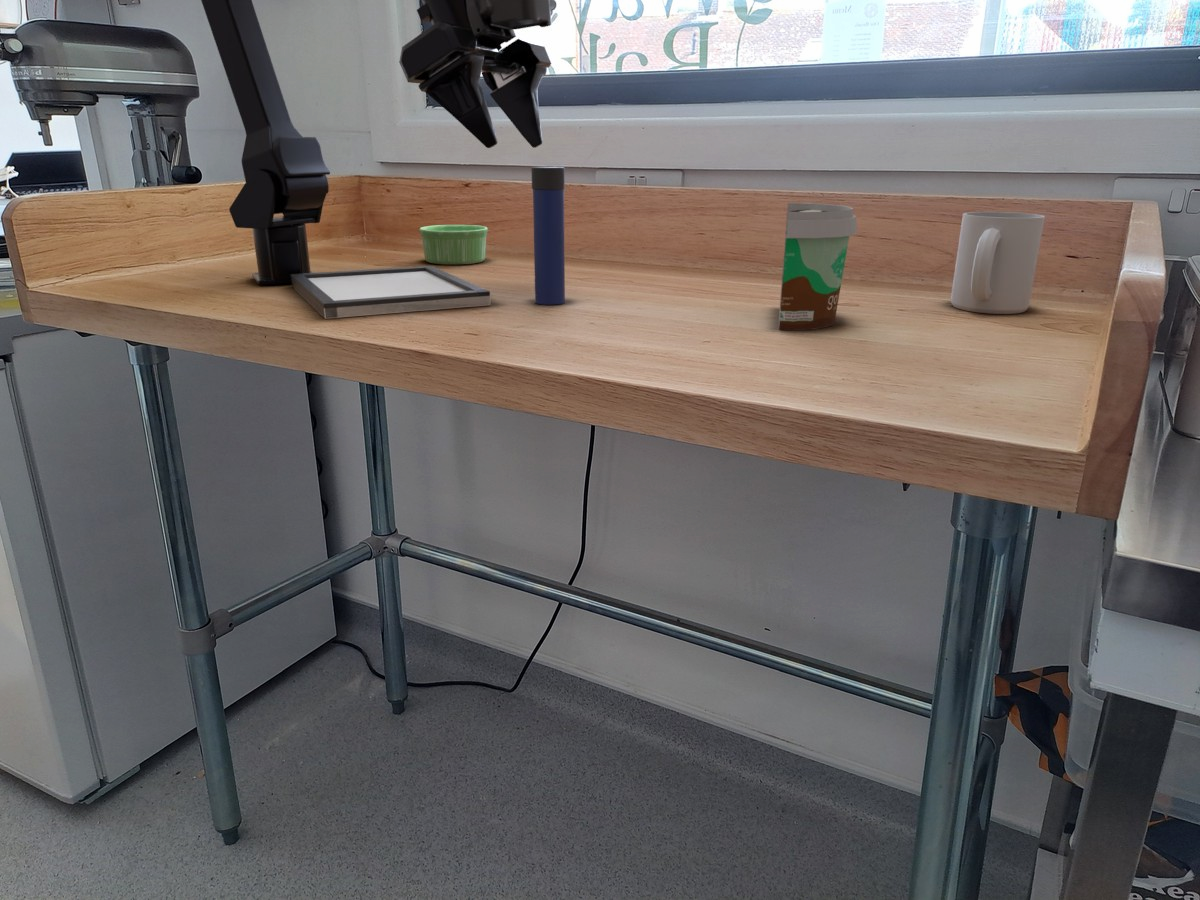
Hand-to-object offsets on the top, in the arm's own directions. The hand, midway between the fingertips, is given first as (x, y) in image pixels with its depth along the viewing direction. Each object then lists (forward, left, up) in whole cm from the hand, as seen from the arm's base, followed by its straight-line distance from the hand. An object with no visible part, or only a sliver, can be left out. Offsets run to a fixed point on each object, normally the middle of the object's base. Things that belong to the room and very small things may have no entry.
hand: (516, 146), depth 83 cm
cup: (+25, +39, -15) cm, 49 cm away
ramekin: (-31, +3, -15) cm, 35 cm away
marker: (+3, +2, -15) cm, 15 cm away
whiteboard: (-8, -12, -15) cm, 21 cm away
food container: (+22, +20, -15) cm, 33 cm away
